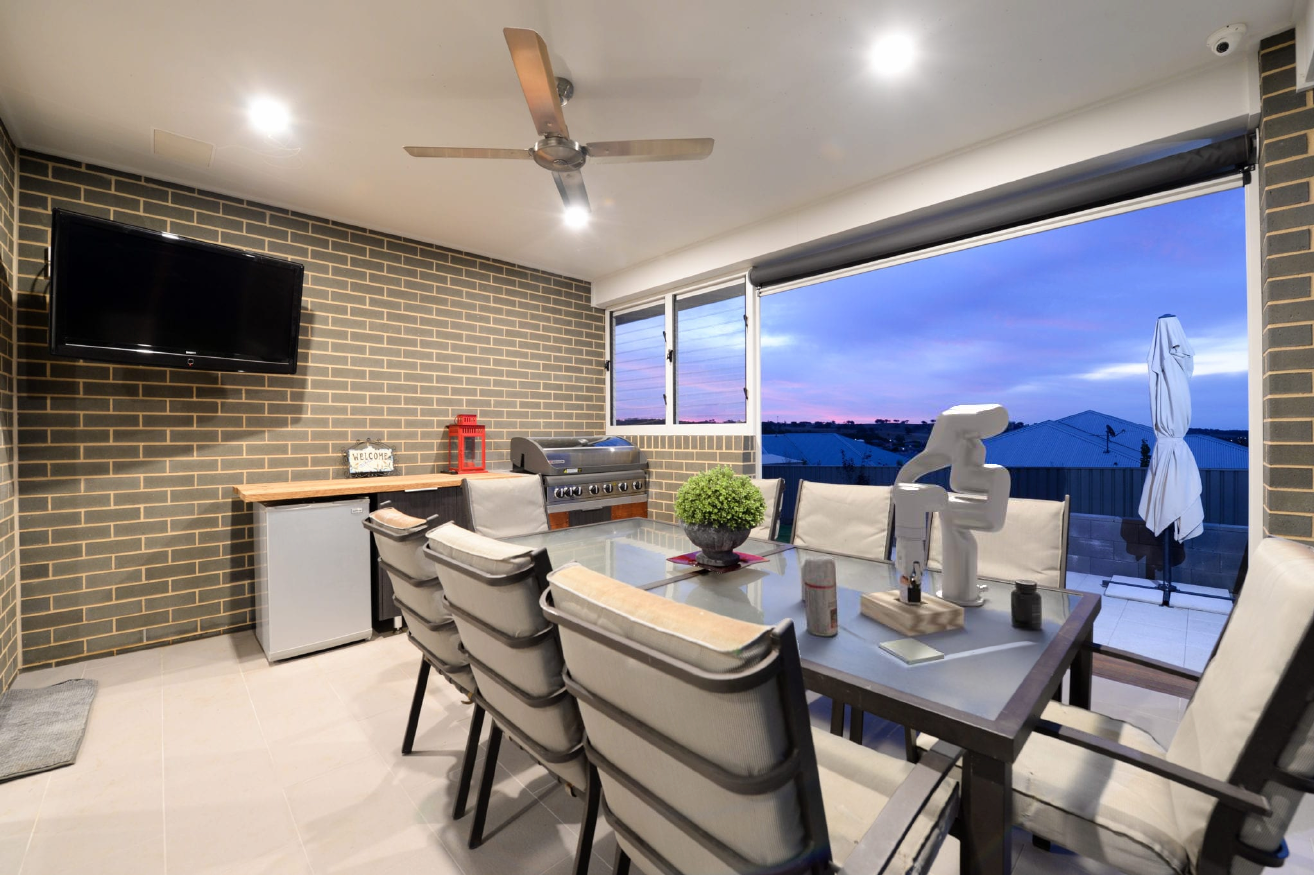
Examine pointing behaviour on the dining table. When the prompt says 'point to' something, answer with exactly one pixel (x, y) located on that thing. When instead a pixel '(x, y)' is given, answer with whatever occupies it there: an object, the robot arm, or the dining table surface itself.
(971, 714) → the dining table surface
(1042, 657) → the dining table surface
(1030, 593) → the supplement bottle
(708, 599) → the dining table surface
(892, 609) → the housing
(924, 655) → the pad
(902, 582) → the copper topped silver cylinder
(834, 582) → the spray can
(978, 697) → the dining table surface
